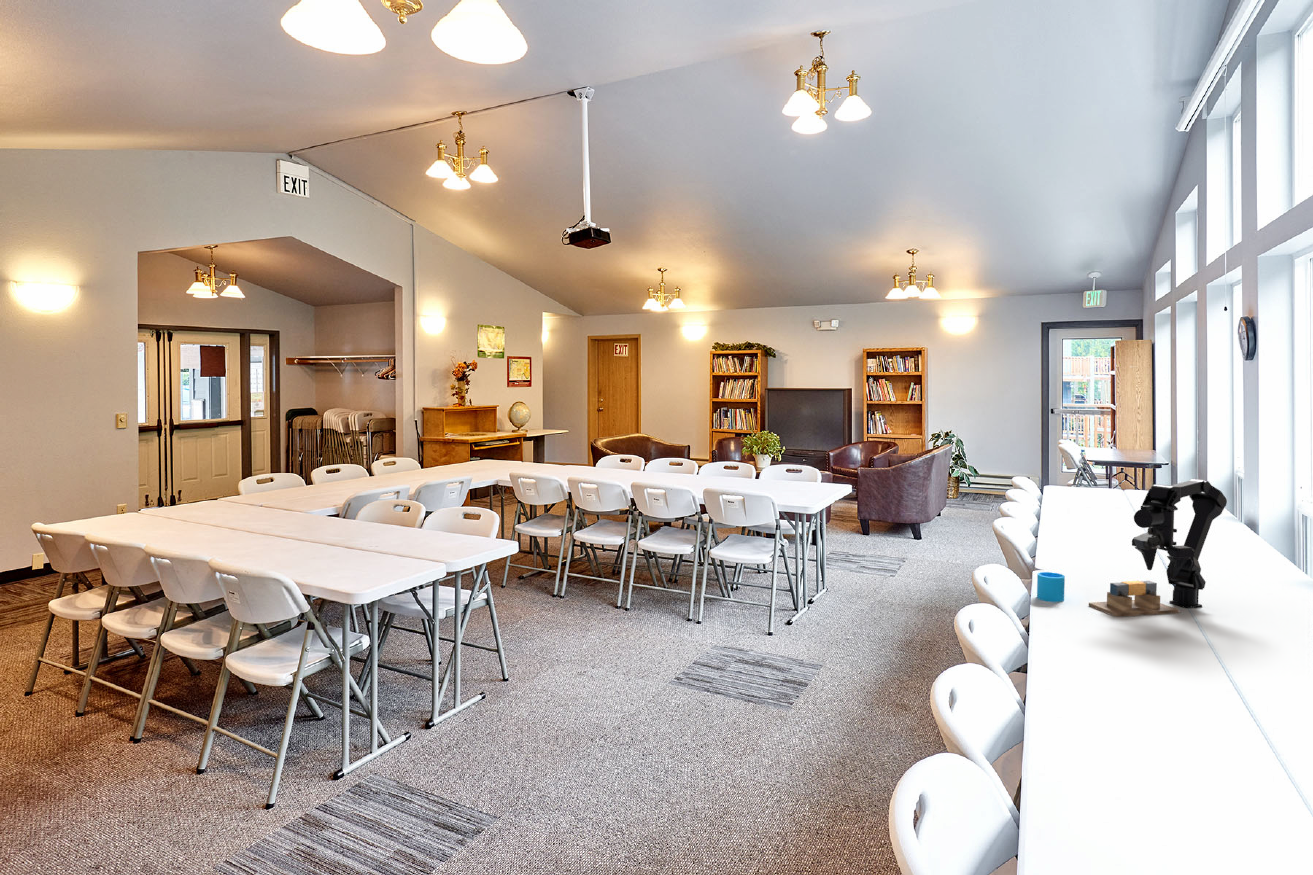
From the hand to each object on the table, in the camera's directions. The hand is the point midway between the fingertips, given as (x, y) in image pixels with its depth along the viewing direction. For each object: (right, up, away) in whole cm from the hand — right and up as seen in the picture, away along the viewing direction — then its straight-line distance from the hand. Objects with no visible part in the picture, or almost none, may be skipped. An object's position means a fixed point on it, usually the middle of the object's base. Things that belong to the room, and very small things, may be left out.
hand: (1161, 573), depth 238 cm
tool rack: (-7, -12, +3) cm, 14 cm away
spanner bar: (-7, -7, +3) cm, 10 cm away
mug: (-25, -12, +17) cm, 33 cm away
